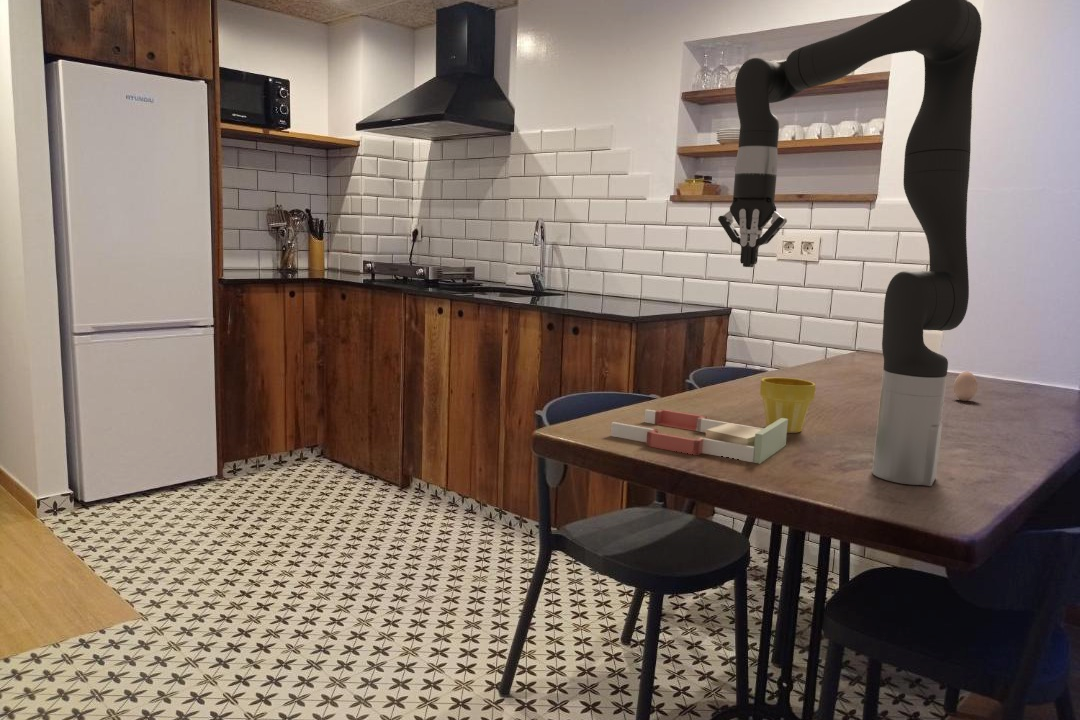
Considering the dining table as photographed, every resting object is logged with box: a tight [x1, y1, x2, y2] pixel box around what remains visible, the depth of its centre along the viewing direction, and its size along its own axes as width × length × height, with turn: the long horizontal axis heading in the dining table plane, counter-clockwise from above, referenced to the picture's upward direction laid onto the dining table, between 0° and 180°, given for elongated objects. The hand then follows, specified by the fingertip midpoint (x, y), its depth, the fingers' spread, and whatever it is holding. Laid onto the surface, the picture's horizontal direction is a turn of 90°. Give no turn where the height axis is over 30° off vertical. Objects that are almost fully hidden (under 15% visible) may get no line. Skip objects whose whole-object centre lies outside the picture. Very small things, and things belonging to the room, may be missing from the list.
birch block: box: [705, 422, 760, 447], centre depth 143 cm, size 8×8×4 cm
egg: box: [952, 371, 979, 402], centre depth 202 cm, size 5×5×7 cm
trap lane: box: [610, 408, 788, 465], centre depth 149 cm, size 28×20×5 cm
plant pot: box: [759, 376, 816, 434], centre depth 161 cm, size 10×10×10 cm
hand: (748, 266), depth 153 cm, fingers closed
